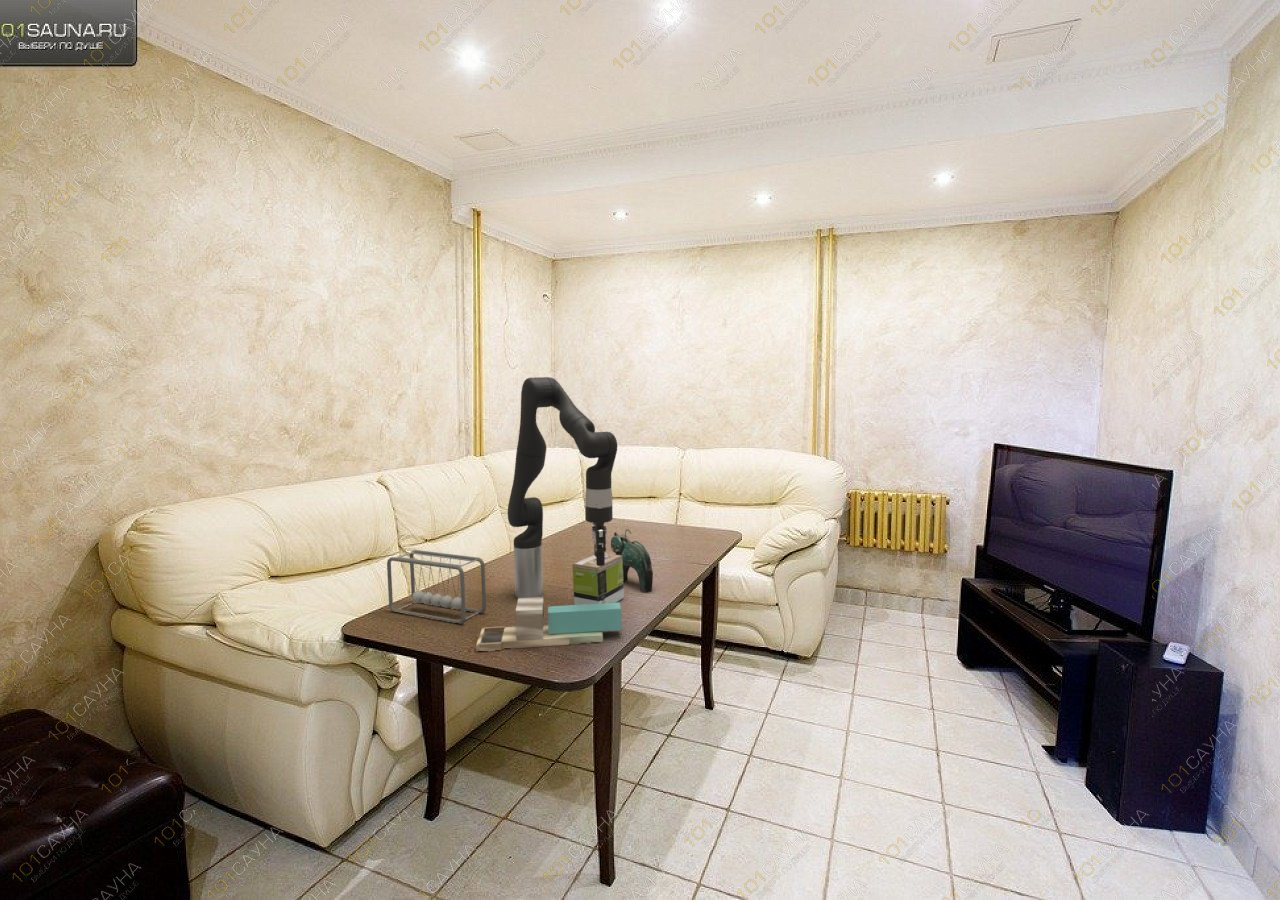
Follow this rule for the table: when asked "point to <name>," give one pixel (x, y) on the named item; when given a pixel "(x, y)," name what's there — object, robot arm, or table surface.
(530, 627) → the tunnel track
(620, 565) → the tea box
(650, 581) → the ceramic cat
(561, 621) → the teal block
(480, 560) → the newton's cradle
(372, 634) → the table surface
